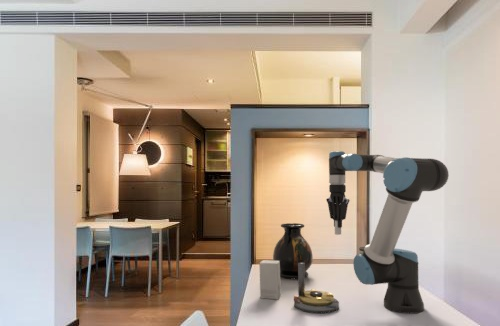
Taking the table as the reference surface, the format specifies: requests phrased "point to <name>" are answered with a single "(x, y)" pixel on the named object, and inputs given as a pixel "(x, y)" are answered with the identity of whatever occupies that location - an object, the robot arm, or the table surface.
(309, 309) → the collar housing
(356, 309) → the table surface
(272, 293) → the skincare box
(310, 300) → the brass disc with post
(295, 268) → the black vase
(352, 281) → the table surface
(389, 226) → the robot arm
